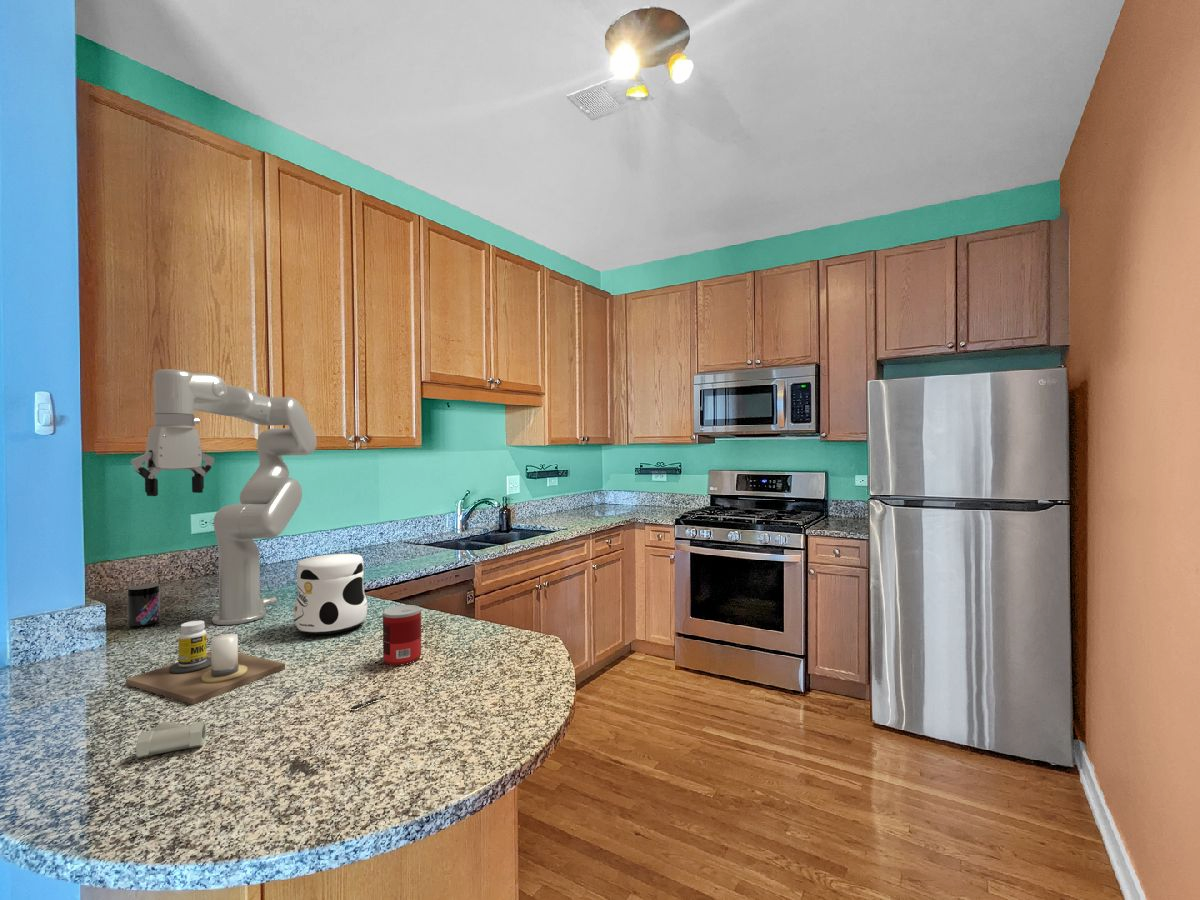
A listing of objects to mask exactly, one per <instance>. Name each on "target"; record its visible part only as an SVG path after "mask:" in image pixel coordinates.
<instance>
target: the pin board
mask: <svg viewBox="0 0 1200 900" xmlns="http://www.w3.org/2000/svg"><path fill="white" fill-rule="evenodd" d="M206 653H207V655H206V661H205V662H204V663H202V664H200V665H196V666H192V667H180V666H179V661H177V662H174V663H171V664H168V665H165V666H162V667H158V668H156V669H151V670H150V671H146V672H143V673H140V674H137V675H134V676H130V677H127V678H126V679H125V686H128V685H129V686H128V687H132V688H135V687H136V688H135V689H138V688H140V689H139V690H141V689H143V690H142V691H145V690H146V692H148V691H150V692H149V693H151V692H153V693H152V694H155V693H157V694H156V695H158V694H160V695H159V696H161V695H163V696H162V697H164V696H166V697H165V698H168V697H169V698H168V699H171V698H173V699H172V700H174V699H176V700H175V701H177V700H180V701H179V702H181V701H183V702H182V703H184V702H186V703H185V704H187V703H188V705H191V706H195V705H197V704H199V702H200V703H202V702H204V701H208V700H209V699H212V697H213V698H215V697H218V696H220V695H222V694H225V693H228V692H230V690H231V691H232V689H233V690H236V689H238V688H240V686H241V687H243V686H245V684H246V685H248V684H251V683H253V682H252V681H254V682H255V680H256V681H258V680H257V679H259V680H261V679H263V678H262V677H264V676H266V677H269V676H271V675H274V674H276V673H275V672H277V673H279V672H281V671H280V670H282V671H284V670H286V663H285V662H280V661H276V660H271V659H268V658H263V657H258V656H254V655H249V654H244V653H241V652H238V664H239V670H238V671H237V672H236V673H234V674H231V675H227V676H222V677H213V676H211V651H209V652H206ZM283 669H284V670H283ZM278 671H279V672H278ZM273 673H274V674H273ZM270 674H271V675H270ZM268 675H269V676H268ZM260 678H261V679H260ZM264 678H265V677H264ZM250 682H251V683H250ZM247 683H248V684H247ZM242 685H243V686H242ZM237 687H238V688H237ZM235 688H236V689H235ZM207 699H208V700H207ZM194 704H195V705H194Z"/></svg>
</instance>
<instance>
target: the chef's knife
mask: <svg viewBox="0 0 1200 900" xmlns="http://www.w3.org/2000/svg"><path fill="white" fill-rule="evenodd" d="M384 695H385V694H382V695H379V696H378V697H375V698H373V699H370V700H366V701H365V702H362V703H359V704H355V705H353V706H352V707H350V709H357V708H359V707H361V706H363V705H366V704H368V703H371V702H373V701H376V700H378V699H381V698H383V697H386V696H384Z"/></svg>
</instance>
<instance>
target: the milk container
mask: <svg viewBox="0 0 1200 900" xmlns="http://www.w3.org/2000/svg"><path fill="white" fill-rule="evenodd" d="M296 576H297V579H296V585H297V586H296V587H297V588H296V591H297V595H296V601H295V604H294V607H293V615H292V616H293V622H294V626H295V628H296V630H298V632H300V633H303V634H305V635H306V634H307V635H318V636H319V635H330V634H338V633H340V632H342V633H343V632H346V631H349V630H351V629H355V628H358V626H359V625H361V624H362V623H364V621H365V620H366V617H367V615H368V601H367V597H366V593H365V589H364V576H365V574H364V558H363V556H362V555H360V554H355V553H353V554H352V553H334V554H324V555H317V556H312V557H307V558H303V559H300V560H298V561H297V568H296Z"/></svg>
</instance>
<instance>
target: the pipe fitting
mask: <svg viewBox="0 0 1200 900" xmlns="http://www.w3.org/2000/svg"><path fill="white" fill-rule="evenodd" d="M206 737H207V724H206V721H203V720H201V721H196V722H192V723H191V724H189V725H188V724H183V723H175V722H169V721H163V722H161V723H159V724H157V725H156V726H155V727H154V728H153V729H152V730H146V731H145V730H144V731H141V732H140V733H139V734H138V738H137V741H136V745H135V746H136V748H135V750H136V751H135V754H136V757H137V759H143V757H144V758H148V756H149V757H153V756H155V755H159V754H164V753H168V752H175V751H179V750H185V749H196V748H201V747H203V746H204V745H205V743H206V739H207V738H206Z"/></svg>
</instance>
